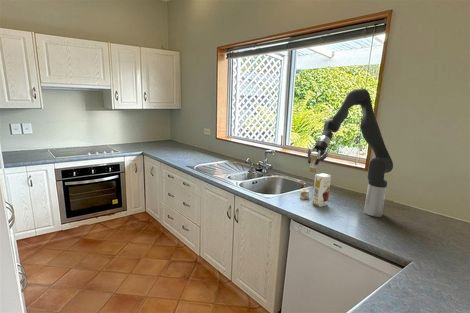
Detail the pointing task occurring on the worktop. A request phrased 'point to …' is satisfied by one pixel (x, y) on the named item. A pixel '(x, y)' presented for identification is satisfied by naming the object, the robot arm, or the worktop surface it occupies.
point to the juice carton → (321, 189)
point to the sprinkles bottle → (313, 162)
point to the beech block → (304, 194)
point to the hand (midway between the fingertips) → (312, 163)
